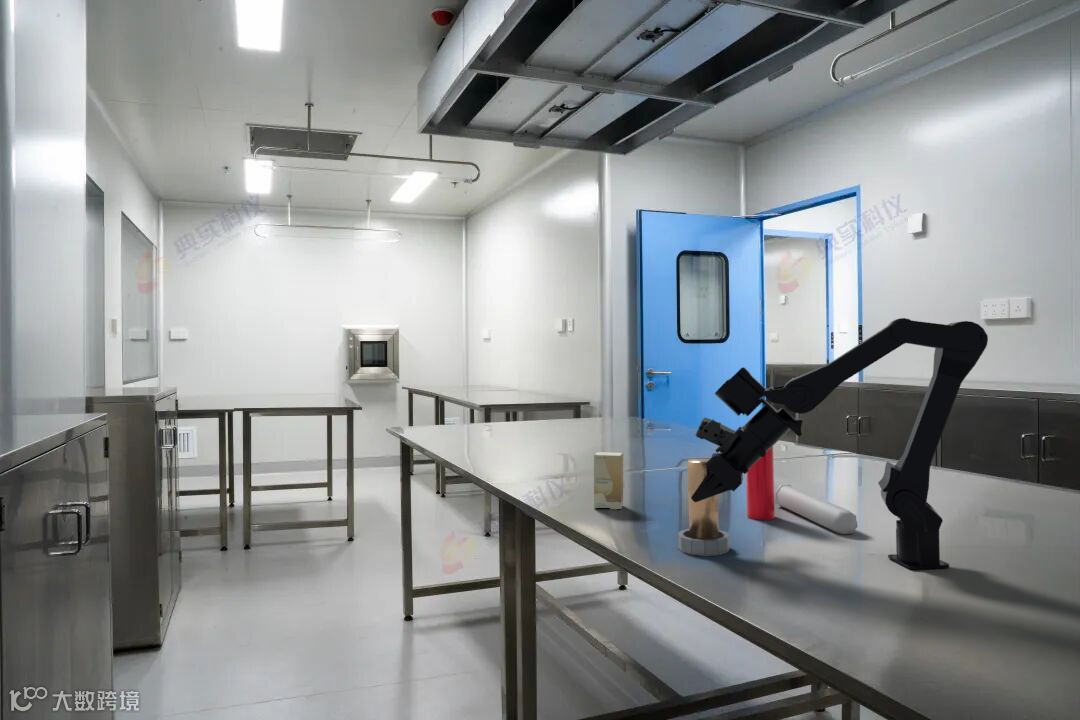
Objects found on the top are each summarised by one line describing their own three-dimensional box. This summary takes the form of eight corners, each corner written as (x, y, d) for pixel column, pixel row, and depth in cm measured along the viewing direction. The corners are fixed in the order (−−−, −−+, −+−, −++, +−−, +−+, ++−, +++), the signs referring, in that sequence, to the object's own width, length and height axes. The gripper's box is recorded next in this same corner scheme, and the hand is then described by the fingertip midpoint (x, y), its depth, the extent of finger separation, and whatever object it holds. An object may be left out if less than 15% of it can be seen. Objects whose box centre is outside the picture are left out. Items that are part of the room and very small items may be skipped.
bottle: (777, 515, 146) (775, 419, 145) (771, 521, 141) (769, 422, 141) (750, 512, 148) (748, 418, 148) (744, 518, 144) (741, 421, 143)
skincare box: (593, 509, 156) (592, 454, 156) (596, 504, 160) (595, 451, 160) (622, 510, 154) (621, 454, 154) (624, 505, 159) (623, 451, 158)
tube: (867, 514, 129) (799, 487, 154) (841, 507, 128) (778, 481, 153) (859, 542, 129) (793, 510, 154) (833, 535, 128) (771, 504, 153)
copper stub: (724, 536, 122) (722, 461, 122) (700, 539, 120) (698, 464, 120) (707, 529, 126) (705, 457, 126) (683, 533, 125) (681, 460, 124)
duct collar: (736, 554, 119) (736, 539, 119) (687, 556, 119) (686, 542, 119) (719, 540, 128) (719, 527, 128) (673, 543, 127) (672, 529, 127)
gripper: (728, 398, 130) (670, 456, 134) (717, 406, 113) (651, 473, 117) (773, 441, 128) (713, 498, 132) (770, 456, 110) (701, 522, 114)
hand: (695, 497), depth 124 cm, fingers closed on copper stub, 5 cm apart
